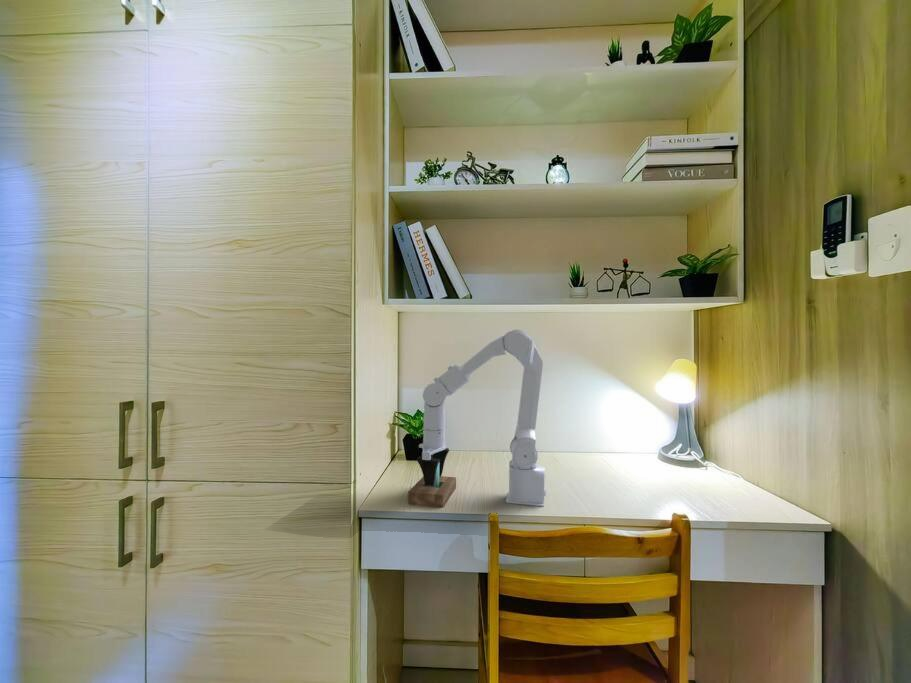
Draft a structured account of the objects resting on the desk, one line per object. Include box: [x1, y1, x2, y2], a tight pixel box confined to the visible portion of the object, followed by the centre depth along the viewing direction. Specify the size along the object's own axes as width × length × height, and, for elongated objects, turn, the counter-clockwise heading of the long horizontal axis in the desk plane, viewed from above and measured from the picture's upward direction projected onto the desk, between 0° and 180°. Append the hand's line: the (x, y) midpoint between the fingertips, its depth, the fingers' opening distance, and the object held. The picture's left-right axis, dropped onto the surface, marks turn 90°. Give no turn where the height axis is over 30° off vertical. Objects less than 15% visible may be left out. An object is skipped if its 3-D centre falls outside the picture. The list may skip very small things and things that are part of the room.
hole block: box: [407, 475, 457, 508], centre depth 111 cm, size 9×14×3 cm, turn 167°
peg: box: [428, 463, 439, 488], centre depth 111 cm, size 3×3×9 cm
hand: (433, 480), depth 111 cm, fingers open, 7 cm apart
